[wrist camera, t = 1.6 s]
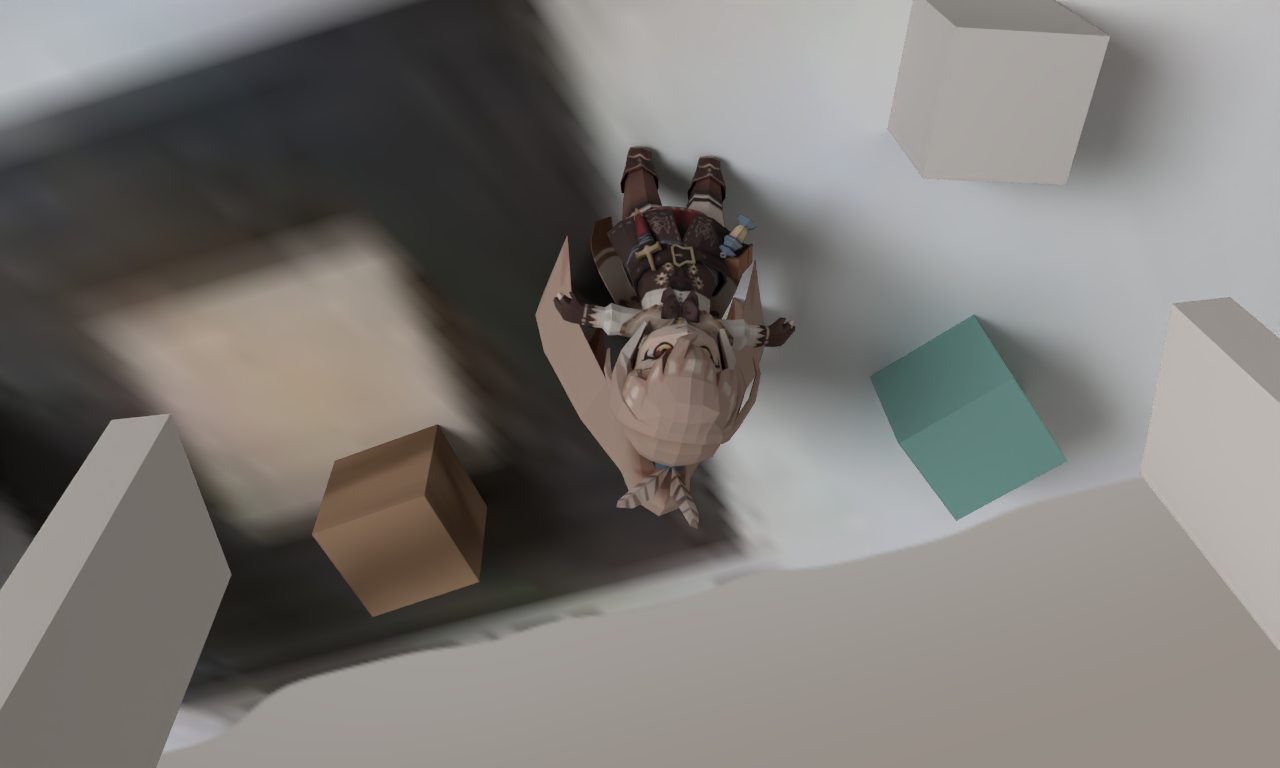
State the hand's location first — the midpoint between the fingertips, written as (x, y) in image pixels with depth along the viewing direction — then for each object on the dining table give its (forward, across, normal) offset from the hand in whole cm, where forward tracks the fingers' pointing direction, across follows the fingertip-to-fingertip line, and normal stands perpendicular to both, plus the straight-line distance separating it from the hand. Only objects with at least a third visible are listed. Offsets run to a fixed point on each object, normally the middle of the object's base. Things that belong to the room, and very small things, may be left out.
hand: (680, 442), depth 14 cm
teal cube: (+27, +13, -17) cm, 35 cm away
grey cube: (+27, +13, -3) cm, 30 cm away
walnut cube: (+28, -11, -20) cm, 36 cm away
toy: (+27, +1, -10) cm, 29 cm away
